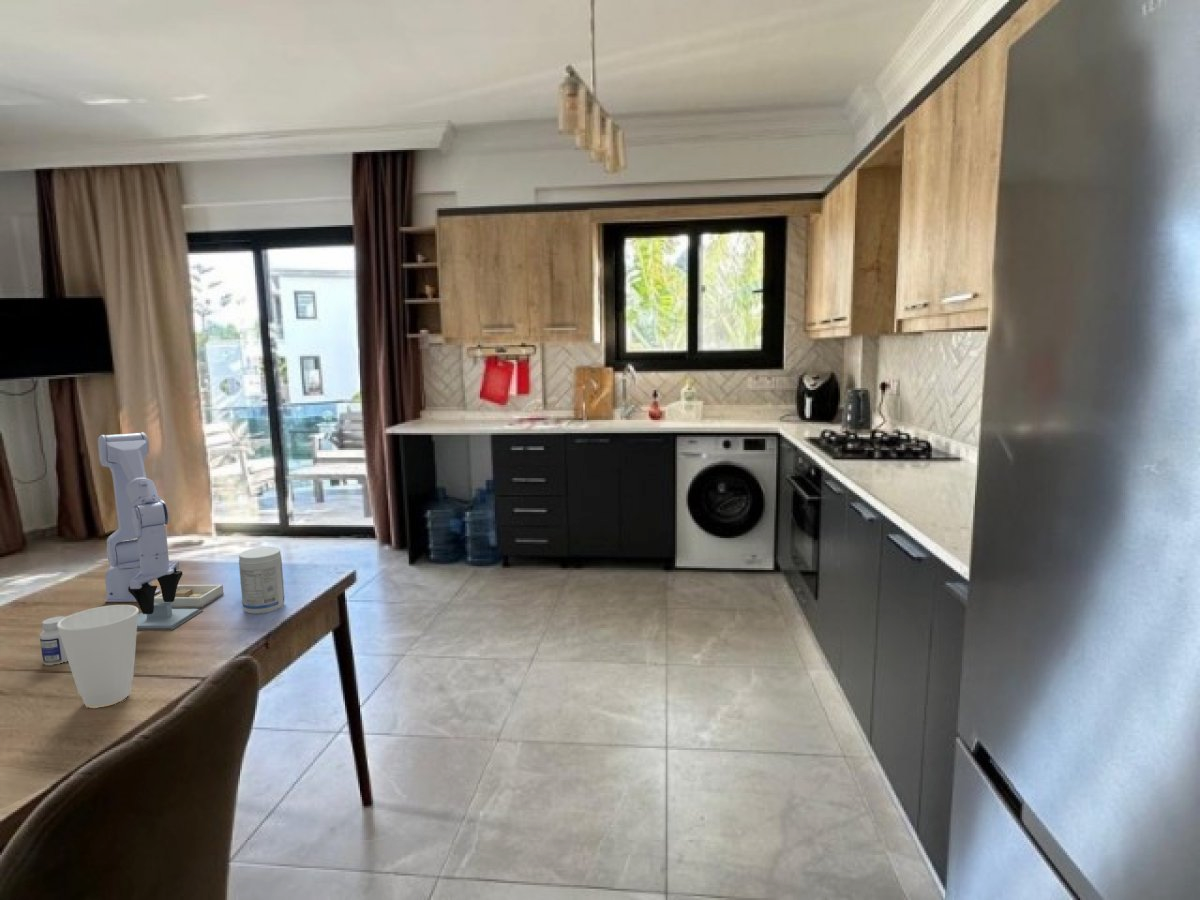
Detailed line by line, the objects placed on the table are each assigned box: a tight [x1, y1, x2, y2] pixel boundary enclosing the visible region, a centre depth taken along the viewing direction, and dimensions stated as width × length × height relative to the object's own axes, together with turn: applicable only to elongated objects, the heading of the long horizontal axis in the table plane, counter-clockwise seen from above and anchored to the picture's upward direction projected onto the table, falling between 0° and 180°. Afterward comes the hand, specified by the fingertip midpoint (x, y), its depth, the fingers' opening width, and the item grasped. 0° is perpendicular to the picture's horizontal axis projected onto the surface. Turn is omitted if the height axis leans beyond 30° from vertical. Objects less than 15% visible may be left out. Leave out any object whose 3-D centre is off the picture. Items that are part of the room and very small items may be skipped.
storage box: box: [154, 584, 224, 609], centre depth 169 cm, size 12×10×3 cm
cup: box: [57, 604, 140, 706], centre depth 119 cm, size 12×12×16 cm
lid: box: [137, 603, 200, 628], centre depth 156 cm, size 12×10×4 cm
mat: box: [137, 609, 204, 631], centre depth 156 cm, size 14×12×1 cm
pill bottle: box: [39, 615, 68, 666], centre depth 135 cm, size 5×5×9 cm
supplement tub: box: [238, 546, 286, 615], centre depth 163 cm, size 10×10×15 cm
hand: (158, 607), depth 156 cm, fingers open, 7 cm apart
